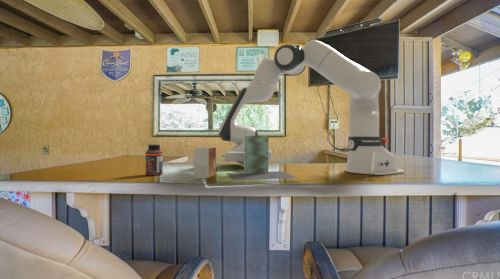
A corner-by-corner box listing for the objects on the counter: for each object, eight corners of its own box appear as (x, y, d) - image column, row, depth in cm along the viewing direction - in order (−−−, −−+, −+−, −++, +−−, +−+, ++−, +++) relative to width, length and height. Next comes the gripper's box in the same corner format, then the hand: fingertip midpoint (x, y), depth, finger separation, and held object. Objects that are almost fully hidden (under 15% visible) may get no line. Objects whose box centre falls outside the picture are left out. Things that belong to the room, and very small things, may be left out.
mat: (281, 172, 111) (281, 171, 111) (297, 179, 95) (297, 177, 95) (225, 174, 105) (225, 173, 105) (233, 182, 90) (233, 180, 90)
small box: (208, 179, 95) (208, 148, 95) (193, 178, 96) (193, 148, 96) (216, 175, 103) (216, 147, 102) (201, 175, 104) (201, 146, 104)
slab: (267, 172, 107) (267, 135, 106) (268, 173, 105) (268, 135, 105) (244, 173, 105) (244, 135, 104) (244, 173, 103) (245, 135, 103)
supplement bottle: (142, 175, 103) (141, 144, 102) (152, 173, 108) (152, 144, 108) (156, 176, 101) (155, 145, 101) (165, 174, 107) (165, 144, 106)
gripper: (221, 148, 122) (226, 150, 108) (266, 147, 127) (276, 149, 113) (221, 162, 122) (226, 166, 109) (266, 161, 127) (276, 164, 114)
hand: (252, 157), depth 111 cm, fingers closed
